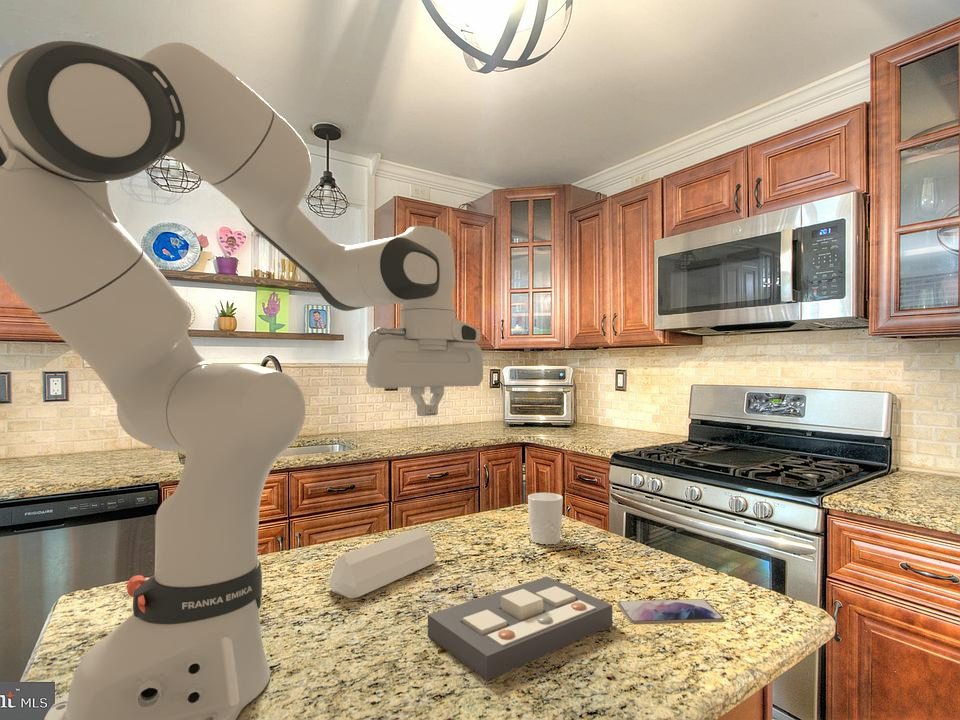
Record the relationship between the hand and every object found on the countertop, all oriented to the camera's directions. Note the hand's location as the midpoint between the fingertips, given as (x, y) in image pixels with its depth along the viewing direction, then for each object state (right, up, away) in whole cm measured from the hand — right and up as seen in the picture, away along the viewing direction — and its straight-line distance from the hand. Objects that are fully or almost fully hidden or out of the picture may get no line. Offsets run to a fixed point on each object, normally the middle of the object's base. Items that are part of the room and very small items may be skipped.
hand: (427, 415), depth 85 cm
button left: (+9, -30, -11) cm, 34 cm away
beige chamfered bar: (-9, -32, +13) cm, 36 cm away
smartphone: (+39, -32, -1) cm, 50 cm away
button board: (+15, -31, -7) cm, 35 cm away
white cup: (+23, -32, +35) cm, 53 cm away
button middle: (+15, -29, -7) cm, 33 cm away
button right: (+20, -31, -3) cm, 37 cm away
